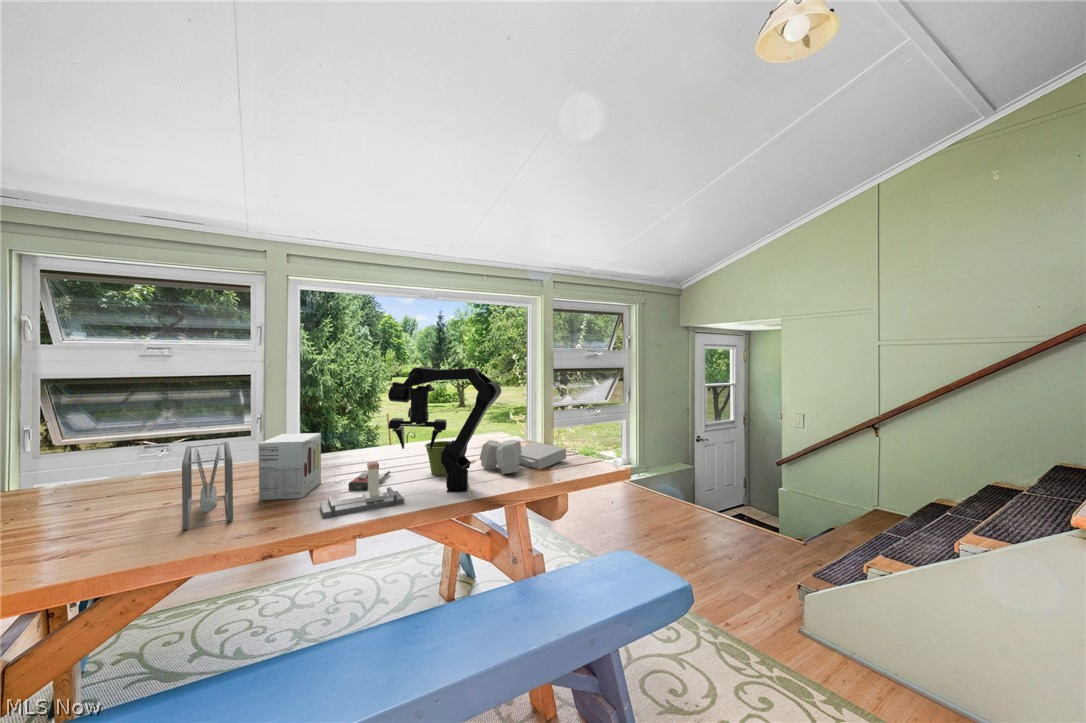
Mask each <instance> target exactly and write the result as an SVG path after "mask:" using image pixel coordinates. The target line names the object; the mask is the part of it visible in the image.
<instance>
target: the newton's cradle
mask: <svg viewBox="0 0 1086 723" xmlns="http://www.w3.org/2000/svg"><path fill="white" fill-rule="evenodd" d="M221 445H224V446H223V447H224V448H223V449H224V450H223V451H224V455H223V458H222V450H221ZM211 446H213V449H214V451H216V452H215V453H216V454H215V453H214V454H213V451H211V452H208V453H210V454H212V457H208V459H210V458H213V456H214V455H215V457H214V459H210V460H202V459H204V457H206V456H208V454H205V455H203V457H202V458H201V455H202V454H204V452H202V453H200V452H201V450H199V448H202V447H205V448H203V450H205V452H207V451H210V449H209V450H208V448H206V447H211ZM214 446H217V447H214ZM192 448H193V449H194V455H193V461H192ZM206 449H207V450H206ZM219 461H224V494H223V495H217V487H216V486H215V485H214V482H215V478H216V473H217V469H218V464H219ZM209 462H214V463H213V467H212V472H211V476H210V480H209V483H208V482H207V478H206V475H205V470H204V467H203V463H209ZM193 464H197V468H198V473H199V476H200V479H201V482H202V488H201V489H200V495H199V496H200V498H197V499H193V491H192V490H193V483H192V480H193V479H192V478H193V477H192V472H193V471H192V470H193V469H192V468H193V467H192V465H193ZM233 476H234V475H233V456H232V452H231V447H230V443H229V442H228V441H225V442H223V443H222V442H221V443H220V442H219V443H212V444H204V445H193V446H191V445H186V448H185V451H184V455H183V459H182V463H181V486H182V487H181V495H182V496H181V501H182V502H181V503H182V504H181V507H182V509H181V513H182V514H181V515H182V516H181V518H182V521H181V522H182V530H183V531H188V530H189V529H191V528H195V527H200V526H205V525H211V524H215V523H216V524H217V523H222V522H227V521H228V522H229V523H231V522H232V521H233V520H234V499H233V498H234V496H233V494H234V492H233V491H234V490H233V488H234V486H233V485H234V483H233V482H234V480H233ZM222 497H225V507H226V516H227V518H225V519H220V520H216V521H215V520H214V521H210V522H204V523H201V524H193V525H190V517H191V510H192V503H193V502H199V509H200V510H201V511H202V512H203V513H210V512H212V511H214V510H215V509H217V505H218V502H217V501H218V500H217V498H222Z"/></svg>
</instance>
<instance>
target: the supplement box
mask: <svg viewBox="0 0 1086 723" xmlns="http://www.w3.org/2000/svg"><path fill="white" fill-rule="evenodd" d="M321 437H322V433H321V432H314V433H313V432H310V433H309V432H307V433H306V432H303V433H301V432H299V433H281V434H278V435H276V436H273V437H271V438H269V439H266V440H263V441H261V442H259V443H258V500H259V501H268V500H292V499H303V498H304V497H305V496H306V495H307V494H309V493H310V492H311V491H312V490H314V489H316V488H317V487H318V486H319V485H320V484H322V442H321V441H322V438H321Z"/></svg>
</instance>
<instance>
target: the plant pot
mask: <svg viewBox="0 0 1086 723" xmlns="http://www.w3.org/2000/svg"><path fill="white" fill-rule="evenodd" d="M451 441H452V440H450V441H449V440H442V441H441V440H440V441H439V440H438V441H434V444H433V447H432V449H431V450H430V444H431V442H427V443H426V444H424V447H425V448H426V453H427V456H428V461H429V467H430V472H431V474H432V475H433V476H447V475H448V474H447V473H446V470H445V467H444V466H443V464H442V462H441V456H442V454H441V453H442V452H443V451H444V448H445V446H446V444H447V443H449V442H451Z"/></svg>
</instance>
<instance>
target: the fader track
mask: <svg viewBox="0 0 1086 723" xmlns="http://www.w3.org/2000/svg"><path fill="white" fill-rule="evenodd" d="M382 494H383V495H384V500H378V501H373V502H367V503H366V501H365V500H364V498H363V495H362V496H358V497H357V496H356V497H351V498H345V499H339V500H334V498H333V496H328V497H327V500H328V501H327V502H320V505H319V506H320V512H321V515H322V518H323V519H324V518H325V519H326V518H331V517H337V516H342V515H349V514H353V513H360V512H364V511H365V512H366V511H370V510H371V511H372V510H376V509H381V508H386V507H387V508H388V507H392V506H398V505H399V506H400V505H403V504H405V498H404V497H403V495H402V494H401V493H400V492H399V491H398V490H393V488H392V487H390V486H389V487H386V492H382Z"/></svg>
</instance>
